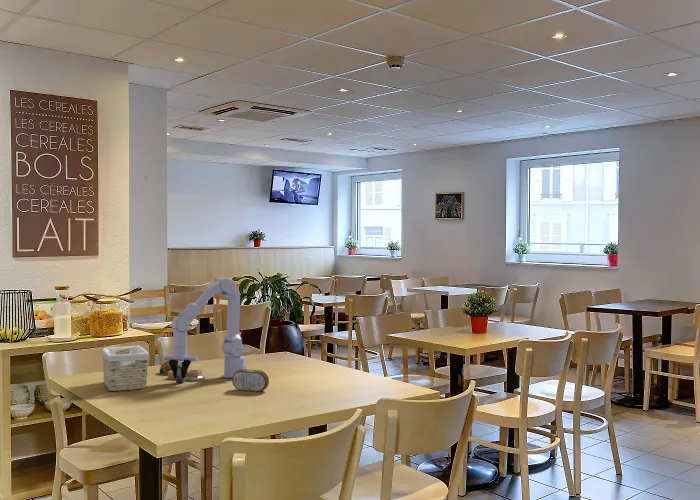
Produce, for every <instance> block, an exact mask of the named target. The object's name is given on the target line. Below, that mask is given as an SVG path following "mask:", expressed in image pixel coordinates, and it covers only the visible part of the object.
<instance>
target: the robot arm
mask: <svg viewBox="0 0 700 500" xmlns="http://www.w3.org/2000/svg"><path fill="white" fill-rule="evenodd" d="M219 294H222V295H223V296H224V297H226V299H227V311H226V312H227V316H226V335H225V336H224V337H223V343H222V344H221V349H222V352H223V353H224V359H223V362H224V367H223V369H224V370H223V373H224V374H223V375H221V376H220V377H221V378H227V379H229V378H230V379H232V377H233V375H234V373H235V372H237V371H238V370H240V369H247V365H248V364H247V358H246V356H242V354H243V353H244V345H243V340H242V337H241V335H240V312H241V292H240V291H239V288H238V287H237V282H236V281H235V280H233V279H232V278H230V277H223V276H218V277H215V278H214V279H213V281H211V282H210V283H209V285H208V286H207V288H206V289H205V290H204V291H203V292H202V294H201V295H200V296H199V297H198V298H197V300H195V302H190V303H189V304H186V305H185V308H184V309H183V311H182V312H180V313H178V314H177V315H178V316H176V317H174V318H173V319H172V320H171V321H172V322H171V323H170V326H171V328H172V329H173V330H172V333H173V334H172V355H170V354H169V355H168V354H167V355H162V361H163V362H166V361H168V360H170V362H169V365H170V367H171V369H172V372H173V375H174V378H176V366H178V361H180V362H181V363H182V379H184V378H186V373H187V371H188V370H189V368H190V365H191V364H192V362H193V363H194V362H198V358H199V357H198V356H197V355H188V330H189V328H190V326H191V323H192V322H193V321H194V319H196V318H197V317H198V315H199V314H201V312H202V310H201V309H202V307H203V306H204V305H205V304H206V303H207V302H208V301H209V300H211V298H212V297H213V296H216V295H219Z"/></svg>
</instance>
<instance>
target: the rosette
mask: <svg viewBox="0 0 700 500" xmlns="http://www.w3.org/2000/svg"><path fill="white" fill-rule="evenodd" d="M205 380H206V375H205V374H202V375H201V376H200V377H198V378H189V377H186V378H184V382H199V381H205Z"/></svg>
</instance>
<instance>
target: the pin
mask: <svg viewBox="0 0 700 500" xmlns="http://www.w3.org/2000/svg"><path fill="white" fill-rule="evenodd" d="M184 382H185V381H184V379H182V365H178V366H176V379H175V383H176V384H184Z"/></svg>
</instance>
